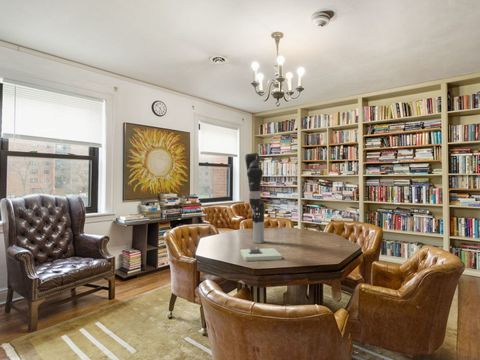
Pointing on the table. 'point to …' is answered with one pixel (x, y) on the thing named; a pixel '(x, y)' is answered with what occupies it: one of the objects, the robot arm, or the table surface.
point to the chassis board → (261, 255)
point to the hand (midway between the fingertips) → (255, 221)
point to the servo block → (254, 251)
